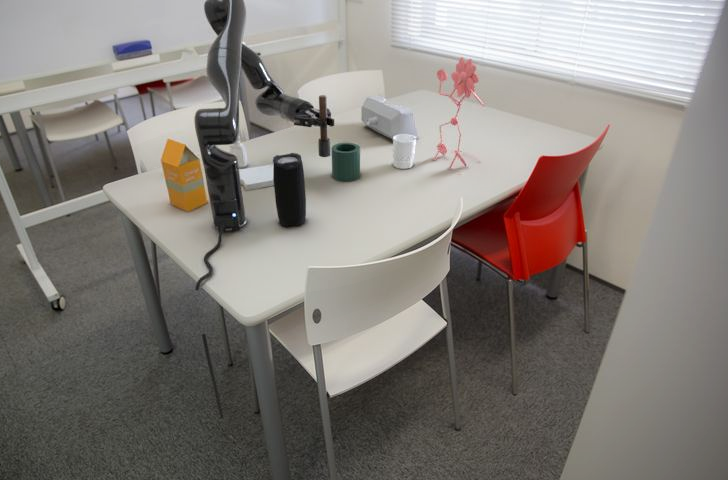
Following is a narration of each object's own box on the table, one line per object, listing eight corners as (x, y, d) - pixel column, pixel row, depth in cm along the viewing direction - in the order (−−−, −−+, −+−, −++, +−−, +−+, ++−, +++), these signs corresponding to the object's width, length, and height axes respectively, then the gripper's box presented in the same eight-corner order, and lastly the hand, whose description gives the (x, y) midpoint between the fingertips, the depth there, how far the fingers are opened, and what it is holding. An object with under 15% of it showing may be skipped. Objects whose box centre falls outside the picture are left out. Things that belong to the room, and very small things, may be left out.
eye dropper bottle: (237, 169, 180) (233, 136, 173) (230, 164, 184) (226, 132, 177) (248, 166, 182) (244, 133, 176) (241, 161, 186) (237, 129, 179)
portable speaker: (302, 212, 153) (298, 149, 142) (310, 226, 145) (307, 162, 134) (274, 216, 151) (268, 153, 140) (281, 231, 143) (275, 166, 132)
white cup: (388, 167, 179) (389, 140, 173) (396, 159, 185) (398, 132, 179) (409, 171, 176) (411, 143, 170) (417, 163, 182) (419, 136, 176)
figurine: (462, 178, 170) (476, 69, 150) (419, 153, 189) (426, 53, 170) (498, 169, 175) (516, 63, 156) (453, 145, 195) (464, 48, 175)
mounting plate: (281, 167, 181) (280, 162, 179) (291, 182, 170) (291, 176, 169) (230, 176, 175) (230, 171, 174) (239, 191, 165) (238, 186, 164)
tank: (351, 128, 213) (351, 98, 206) (383, 122, 220) (384, 92, 213) (385, 147, 195) (386, 114, 188) (418, 139, 202) (420, 107, 195)
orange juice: (190, 195, 164) (178, 134, 153) (208, 202, 159) (196, 140, 148) (170, 204, 159) (156, 142, 148) (187, 212, 154) (174, 149, 143)
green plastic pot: (361, 180, 170) (361, 152, 165) (333, 182, 170) (332, 153, 164) (357, 169, 178) (358, 141, 173) (331, 170, 178) (330, 143, 172)
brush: (330, 156, 156) (329, 97, 146) (319, 157, 156) (316, 98, 146) (329, 152, 159) (328, 94, 149) (318, 153, 159) (316, 94, 149)
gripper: (277, 102, 156) (309, 116, 144) (314, 94, 163) (347, 106, 151) (279, 126, 160) (310, 141, 149) (315, 117, 167) (348, 131, 156)
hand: (329, 124), depth 150 cm, fingers closed on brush, 2 cm apart
